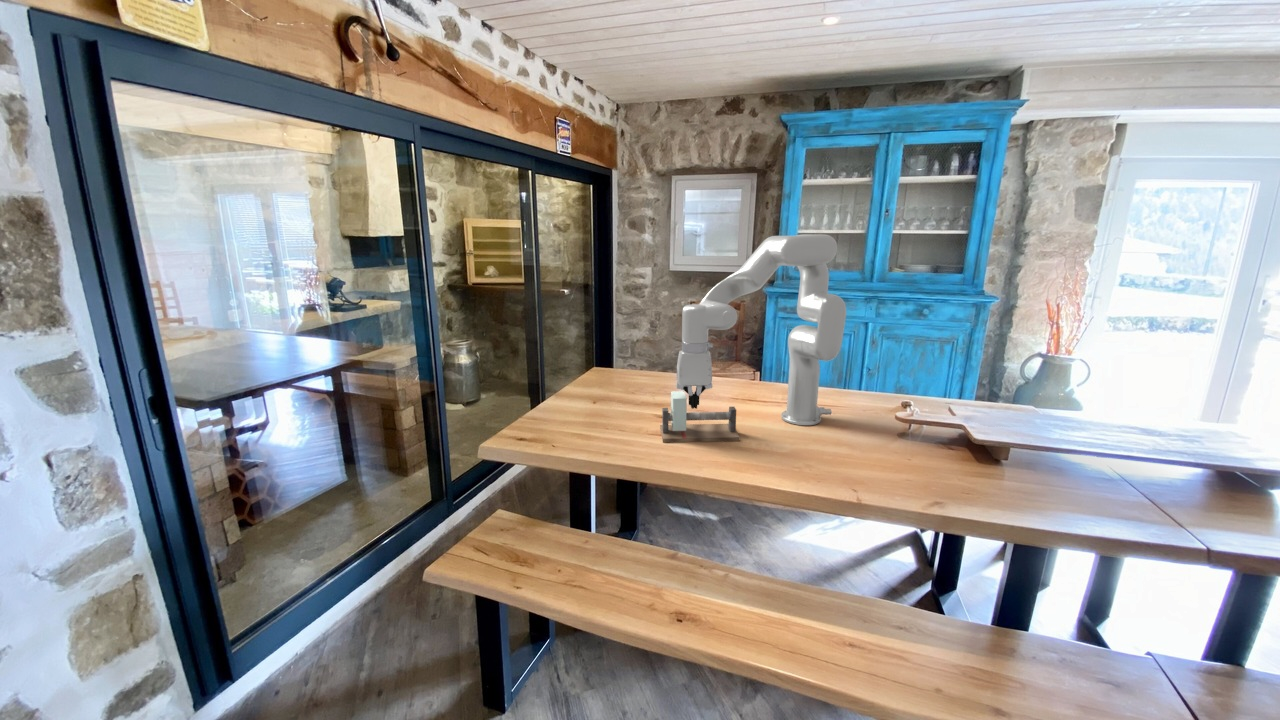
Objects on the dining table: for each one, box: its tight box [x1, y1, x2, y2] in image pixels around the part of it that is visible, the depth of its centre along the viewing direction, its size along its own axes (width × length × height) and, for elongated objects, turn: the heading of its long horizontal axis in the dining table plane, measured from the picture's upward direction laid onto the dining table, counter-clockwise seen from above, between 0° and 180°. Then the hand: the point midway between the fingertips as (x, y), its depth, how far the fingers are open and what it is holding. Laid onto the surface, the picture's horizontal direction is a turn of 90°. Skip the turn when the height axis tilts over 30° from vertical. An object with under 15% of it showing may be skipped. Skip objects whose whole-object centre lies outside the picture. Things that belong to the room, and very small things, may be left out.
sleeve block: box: [670, 390, 688, 431], centre depth 152 cm, size 4×7×10 cm, turn 2°
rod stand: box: [659, 406, 741, 443], centre depth 154 cm, size 23×11×8 cm, turn 92°
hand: (693, 407), depth 150 cm, fingers closed
